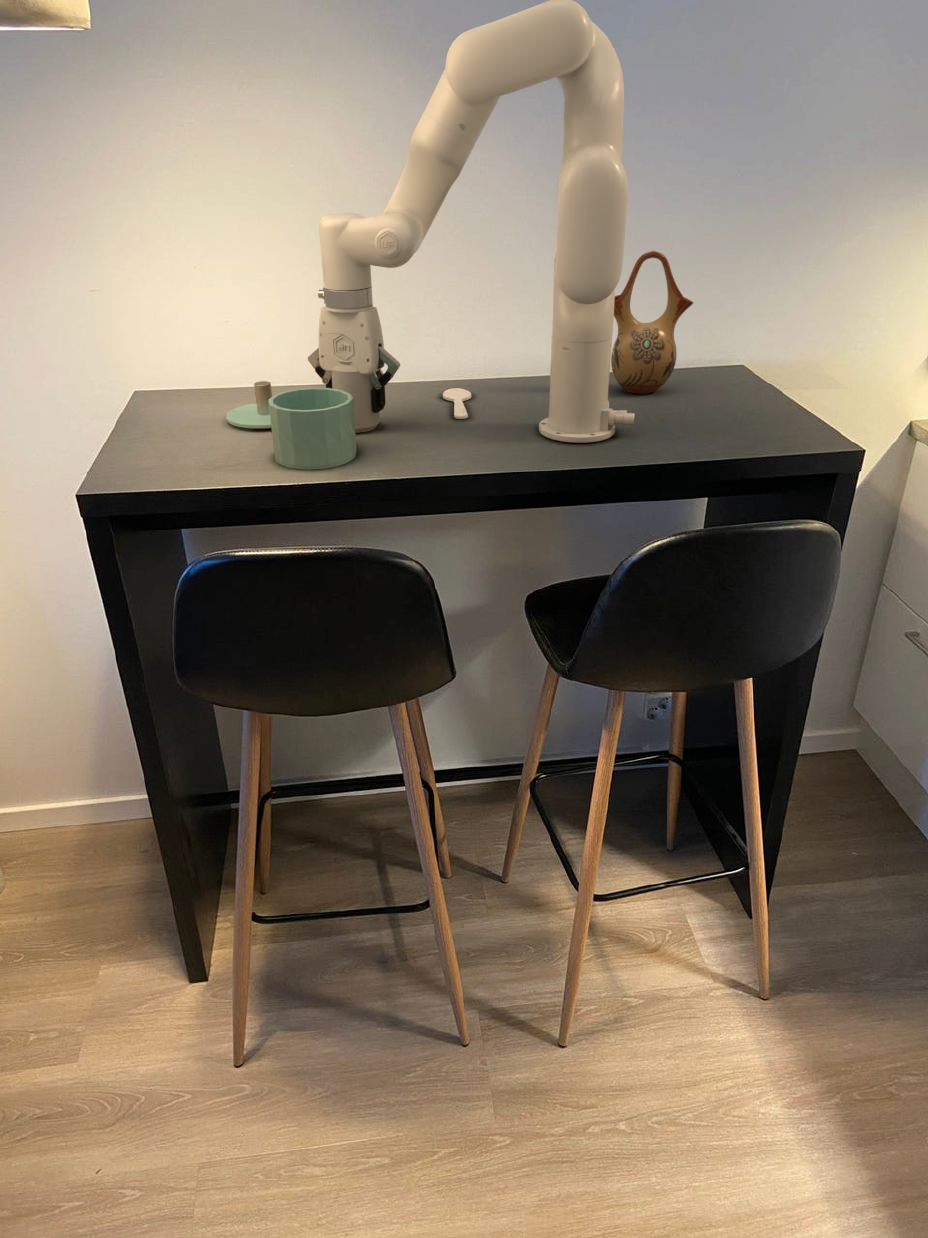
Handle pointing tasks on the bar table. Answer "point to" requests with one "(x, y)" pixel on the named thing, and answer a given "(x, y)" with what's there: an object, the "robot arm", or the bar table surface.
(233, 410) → the pot lid
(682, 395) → the bar table surface
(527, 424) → the bar table surface
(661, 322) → the ceramic vessel
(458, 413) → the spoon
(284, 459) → the pot
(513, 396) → the bar table surface
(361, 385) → the can
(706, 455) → the bar table surface
